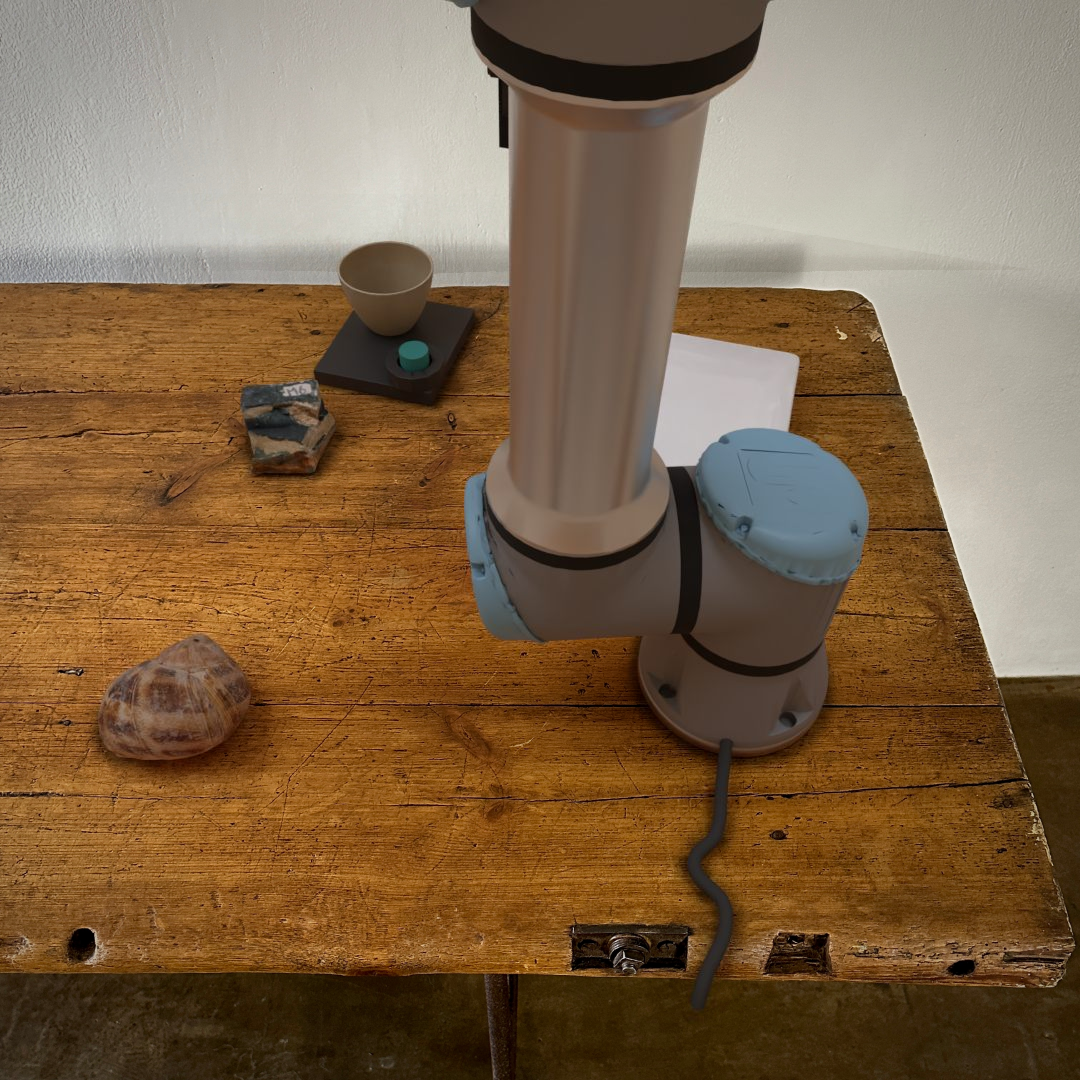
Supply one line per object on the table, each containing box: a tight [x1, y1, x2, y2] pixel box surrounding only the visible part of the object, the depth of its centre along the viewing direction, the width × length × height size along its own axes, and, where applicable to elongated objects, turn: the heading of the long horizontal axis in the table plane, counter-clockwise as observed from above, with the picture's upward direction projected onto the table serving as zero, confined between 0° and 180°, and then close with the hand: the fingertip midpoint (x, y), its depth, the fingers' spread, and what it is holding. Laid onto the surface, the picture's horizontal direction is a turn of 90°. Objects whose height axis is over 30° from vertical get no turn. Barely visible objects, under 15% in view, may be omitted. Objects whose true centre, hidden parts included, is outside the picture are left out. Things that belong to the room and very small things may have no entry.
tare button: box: [399, 341, 429, 372], centre depth 100 cm, size 3×3×2 cm
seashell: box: [97, 633, 252, 761], centre depth 74 cm, size 10×9×10 cm
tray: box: [653, 332, 801, 467], centre depth 95 cm, size 17×31×4 cm, turn 164°
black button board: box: [312, 300, 476, 407], centre depth 105 cm, size 15×13×4 cm
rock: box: [240, 378, 338, 475], centre depth 95 cm, size 9×9×6 cm
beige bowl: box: [336, 240, 434, 336], centre depth 105 cm, size 10×10×7 cm
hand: (534, 113), depth 91 cm, fingers open, 13 cm apart
